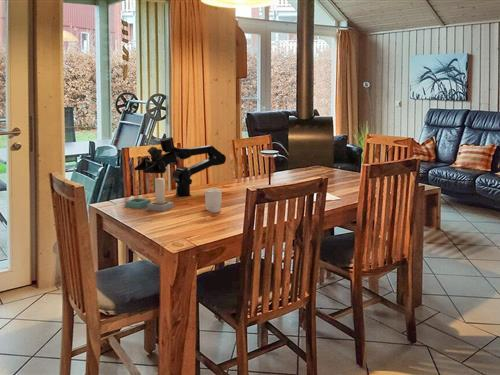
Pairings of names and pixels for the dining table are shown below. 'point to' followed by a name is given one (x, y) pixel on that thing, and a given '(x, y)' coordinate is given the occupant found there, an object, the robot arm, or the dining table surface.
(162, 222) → the dining table surface
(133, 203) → the socket board
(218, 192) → the white cup
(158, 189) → the peg
